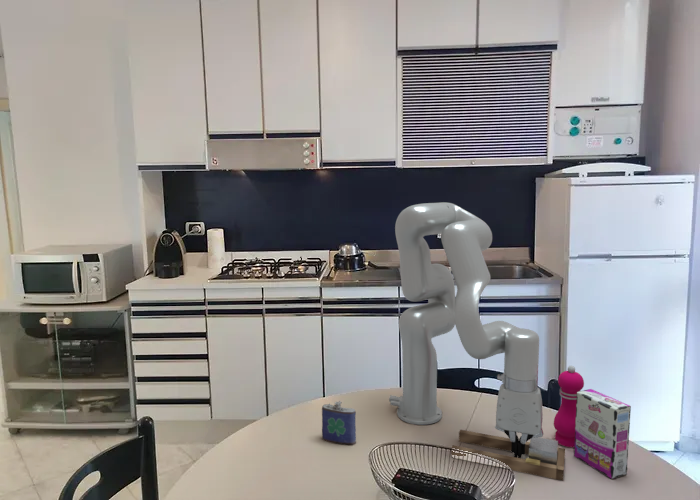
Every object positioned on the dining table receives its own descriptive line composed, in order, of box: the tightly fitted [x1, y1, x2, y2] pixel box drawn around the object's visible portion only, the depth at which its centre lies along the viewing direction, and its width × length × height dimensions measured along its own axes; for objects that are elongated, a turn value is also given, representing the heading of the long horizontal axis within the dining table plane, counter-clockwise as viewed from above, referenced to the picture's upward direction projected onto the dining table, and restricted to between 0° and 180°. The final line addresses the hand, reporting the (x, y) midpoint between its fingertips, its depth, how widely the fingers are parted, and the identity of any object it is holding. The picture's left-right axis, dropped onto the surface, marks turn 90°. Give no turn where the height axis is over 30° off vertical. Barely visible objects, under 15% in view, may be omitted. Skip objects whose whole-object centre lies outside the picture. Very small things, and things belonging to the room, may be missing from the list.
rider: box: [528, 437, 559, 465], centre depth 122 cm, size 6×6×5 cm
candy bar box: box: [573, 388, 632, 480], centre depth 121 cm, size 11×5×16 cm, turn 23°
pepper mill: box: [553, 365, 585, 448], centre depth 132 cm, size 7×7×20 cm
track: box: [450, 429, 566, 481], centre depth 125 cm, size 25×10×3 cm, turn 66°
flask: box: [321, 400, 357, 446], centre depth 134 cm, size 9×3×11 cm, turn 68°
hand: (518, 455), depth 124 cm, fingers closed
